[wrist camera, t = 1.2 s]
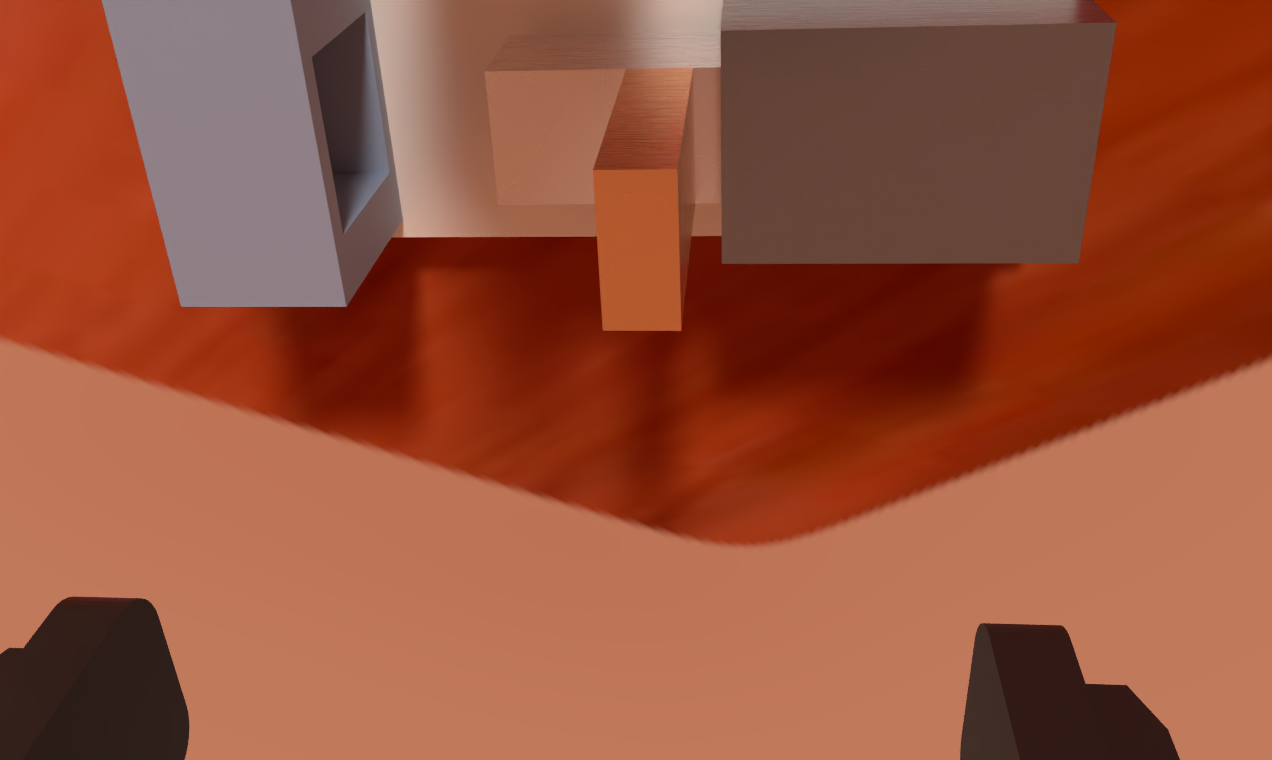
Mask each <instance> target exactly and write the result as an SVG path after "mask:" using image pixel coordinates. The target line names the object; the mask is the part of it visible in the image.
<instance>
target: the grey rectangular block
mask: <svg viewBox="0 0 1272 760" xmlns="http://www.w3.org/2000/svg"><path fill="white" fill-rule="evenodd" d="M1116 23H1117V22H1116V21H1114V20H1113V19H1112V18H1111V17H1110V16H1109V15H1108V14H1107V13H1106V12H1105V11H1104V10H1103V9H1102V8H1100V7H1099V6H1098V5H1097V4H1096V3H1095V2H1094V1H1093V0H723V10H722V21H721V205H722V264H917V263H1078V262H1079V256H1080V249H1081V243H1082V237H1083V231H1084V224H1085V218H1086V212H1087V205H1088V199H1089V193H1090V187H1091V180H1092V174H1093V168H1094V162H1095V155H1096V149H1097V143H1098V136H1099V130H1100V124H1101V118H1102V111H1103V105H1104V99H1105V92H1106V86H1107V80H1108V74H1109V67H1110V61H1111V55H1112V48H1113V42H1114V36H1115V30H1116Z"/></svg>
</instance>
